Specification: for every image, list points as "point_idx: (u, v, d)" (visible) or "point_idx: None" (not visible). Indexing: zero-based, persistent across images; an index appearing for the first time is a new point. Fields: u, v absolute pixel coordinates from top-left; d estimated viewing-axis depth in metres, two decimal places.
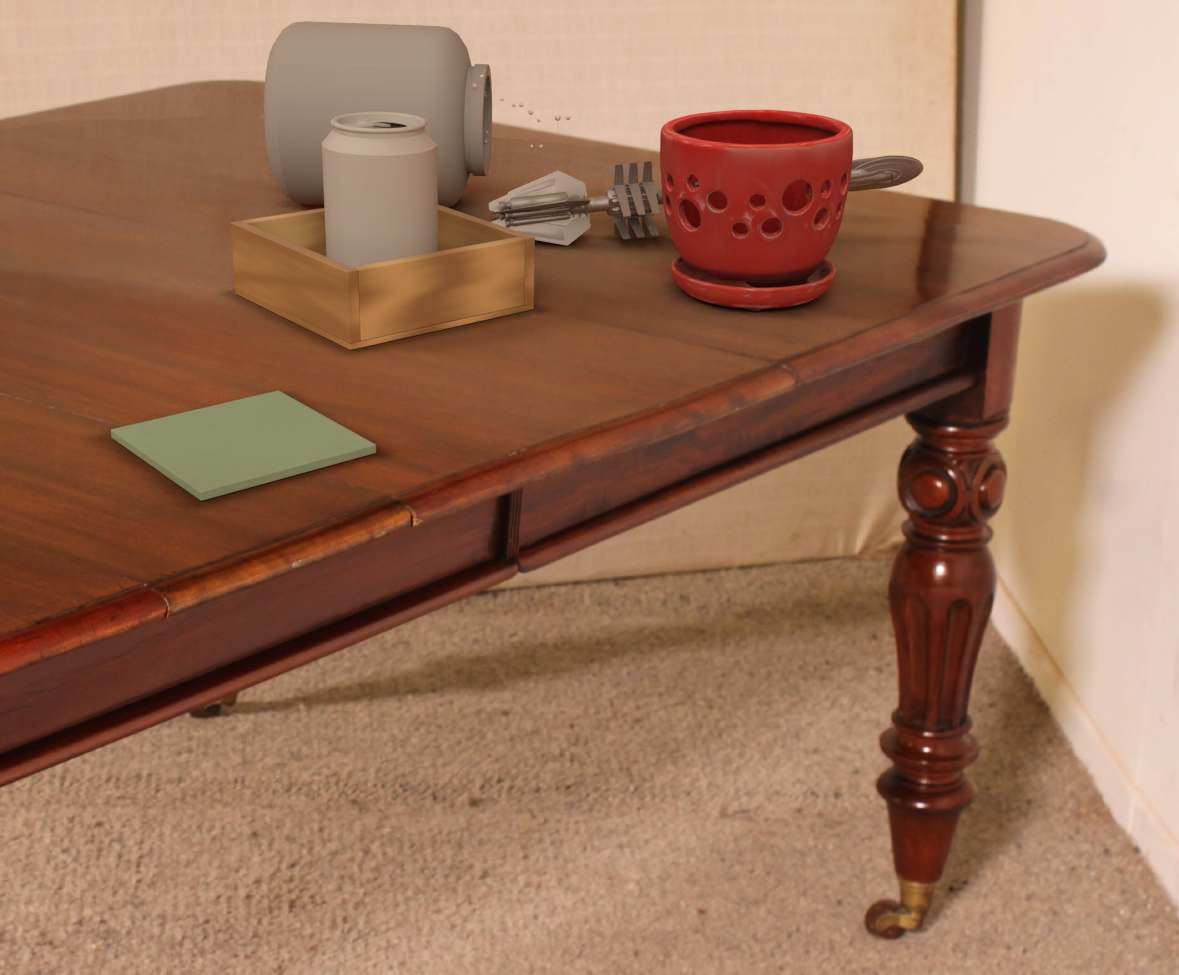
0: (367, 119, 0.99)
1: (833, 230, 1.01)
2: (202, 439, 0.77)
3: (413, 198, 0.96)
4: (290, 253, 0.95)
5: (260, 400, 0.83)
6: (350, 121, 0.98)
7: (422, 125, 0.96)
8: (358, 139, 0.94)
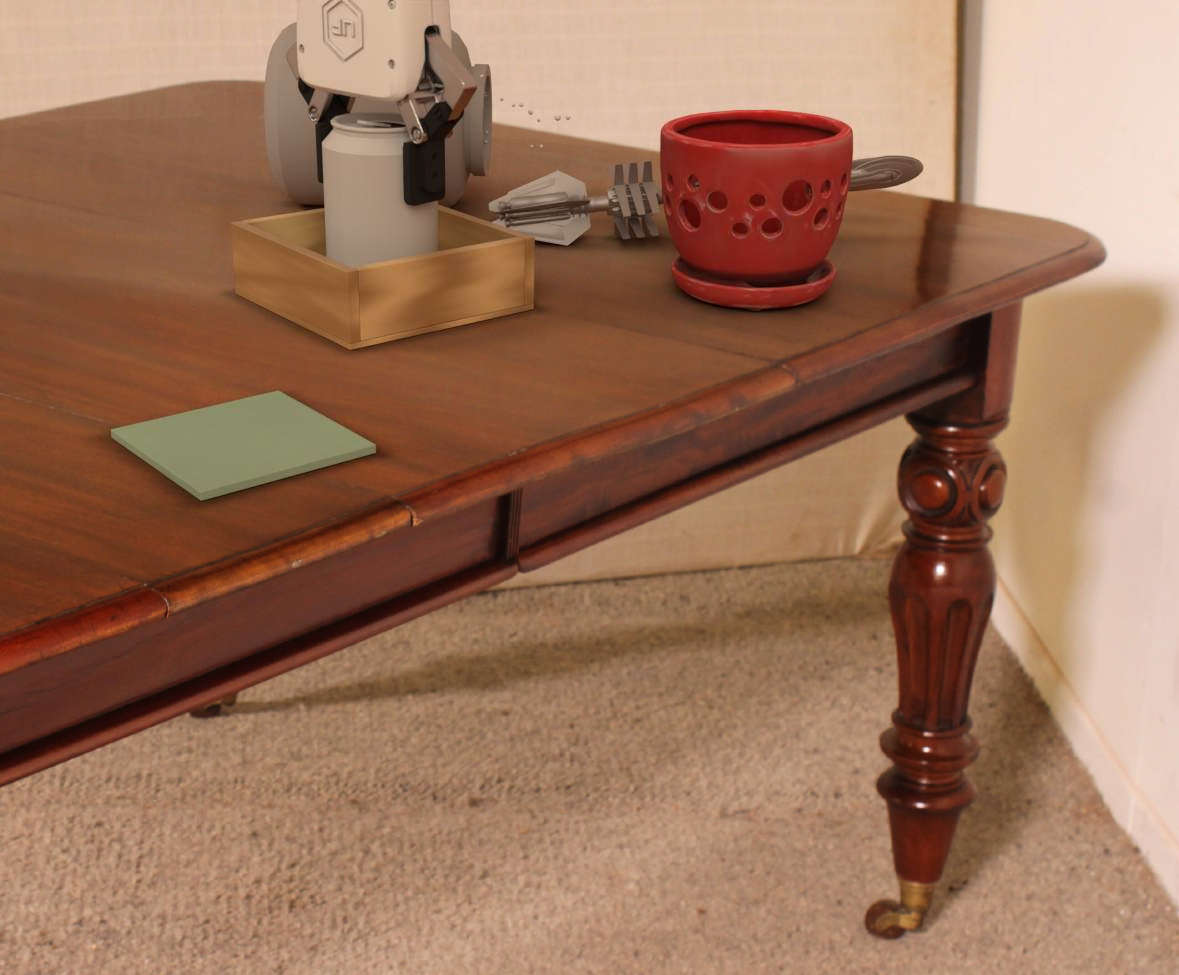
0: (367, 119, 0.99)
1: (833, 230, 1.01)
2: (202, 439, 0.77)
3: None
4: (290, 253, 0.95)
5: (260, 400, 0.83)
6: (350, 121, 0.98)
7: None
8: (358, 139, 0.94)
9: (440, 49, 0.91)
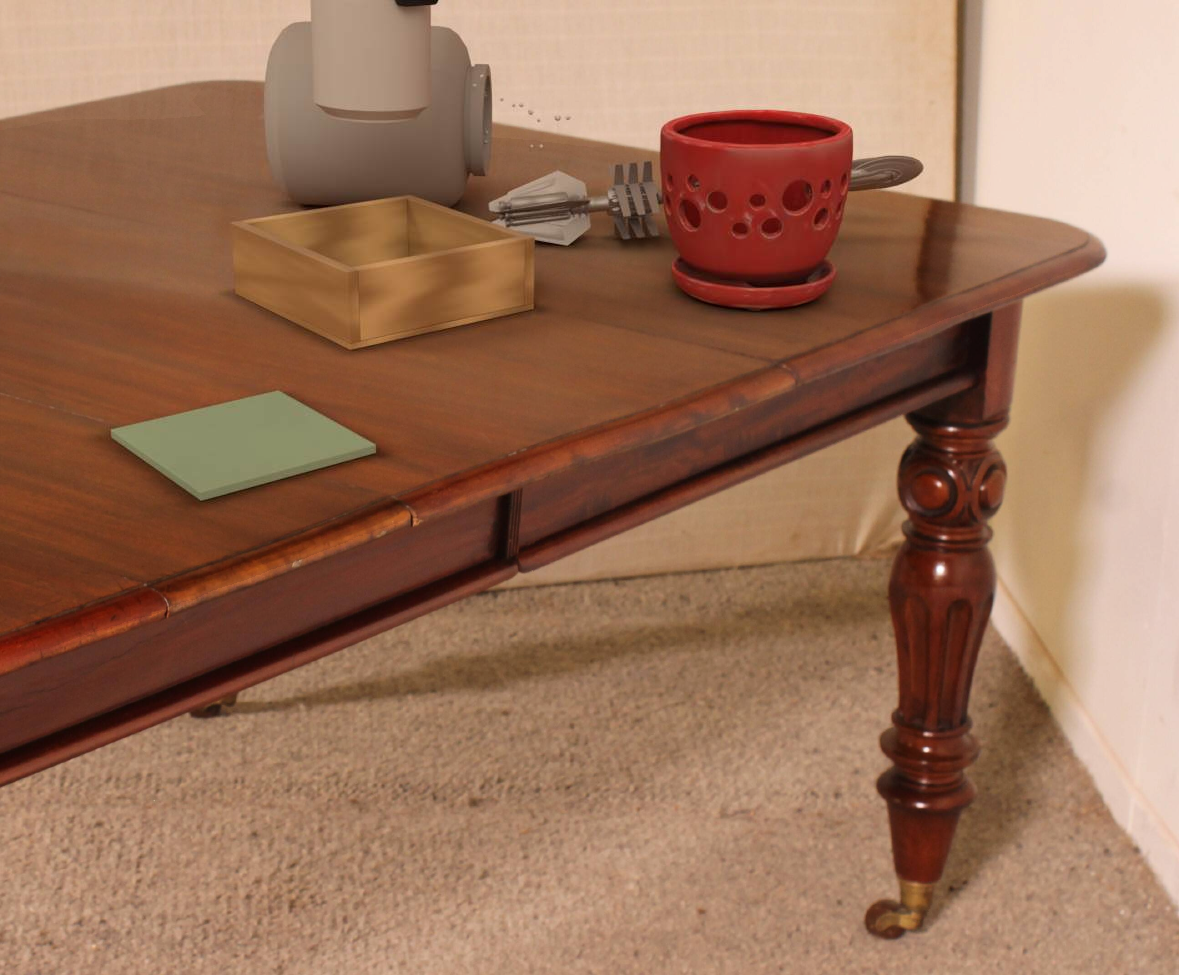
0: None
1: (833, 230, 1.01)
2: (202, 439, 0.77)
3: None
4: (290, 253, 0.95)
5: (260, 400, 0.83)
6: None
7: None
8: None
9: None
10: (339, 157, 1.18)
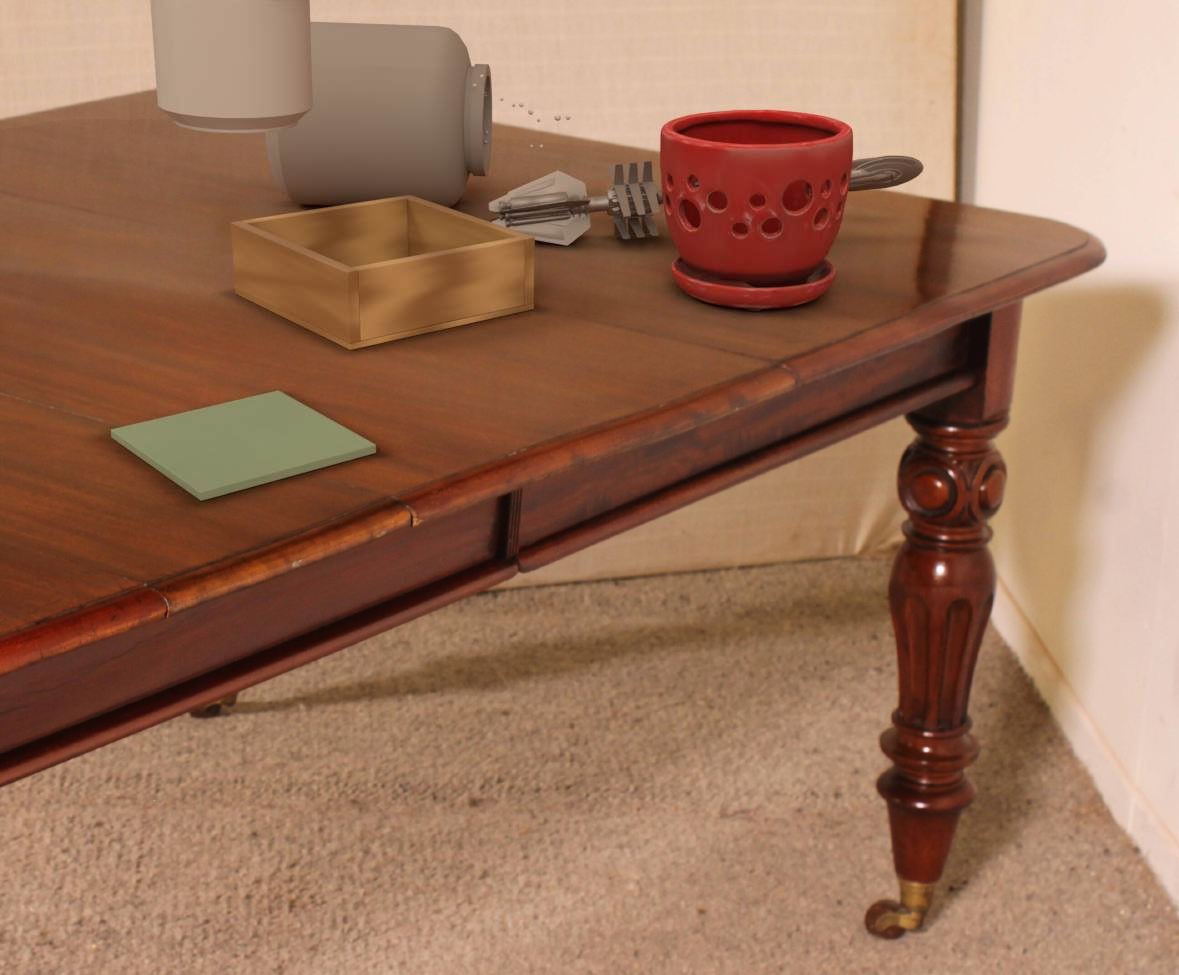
0: None
1: (833, 230, 1.01)
2: (202, 439, 0.77)
3: None
4: (290, 253, 0.95)
5: (260, 400, 0.83)
6: None
7: None
8: None
9: None
10: (339, 157, 1.18)
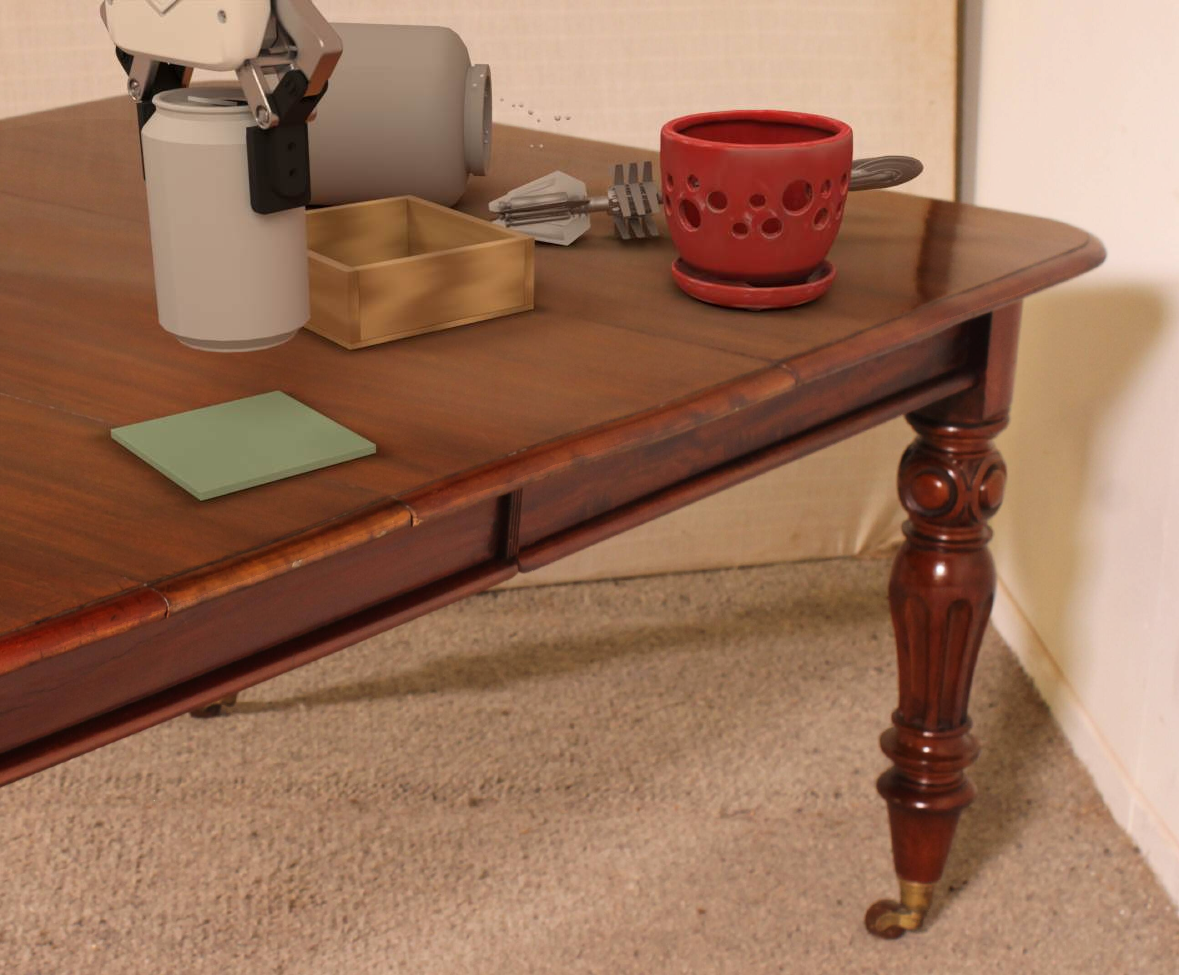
0: (209, 96, 0.73)
1: (833, 230, 1.01)
2: (202, 439, 0.77)
3: None
4: None
5: (260, 400, 0.83)
6: (184, 98, 0.72)
7: None
8: (186, 121, 0.68)
9: None
10: (339, 157, 1.18)
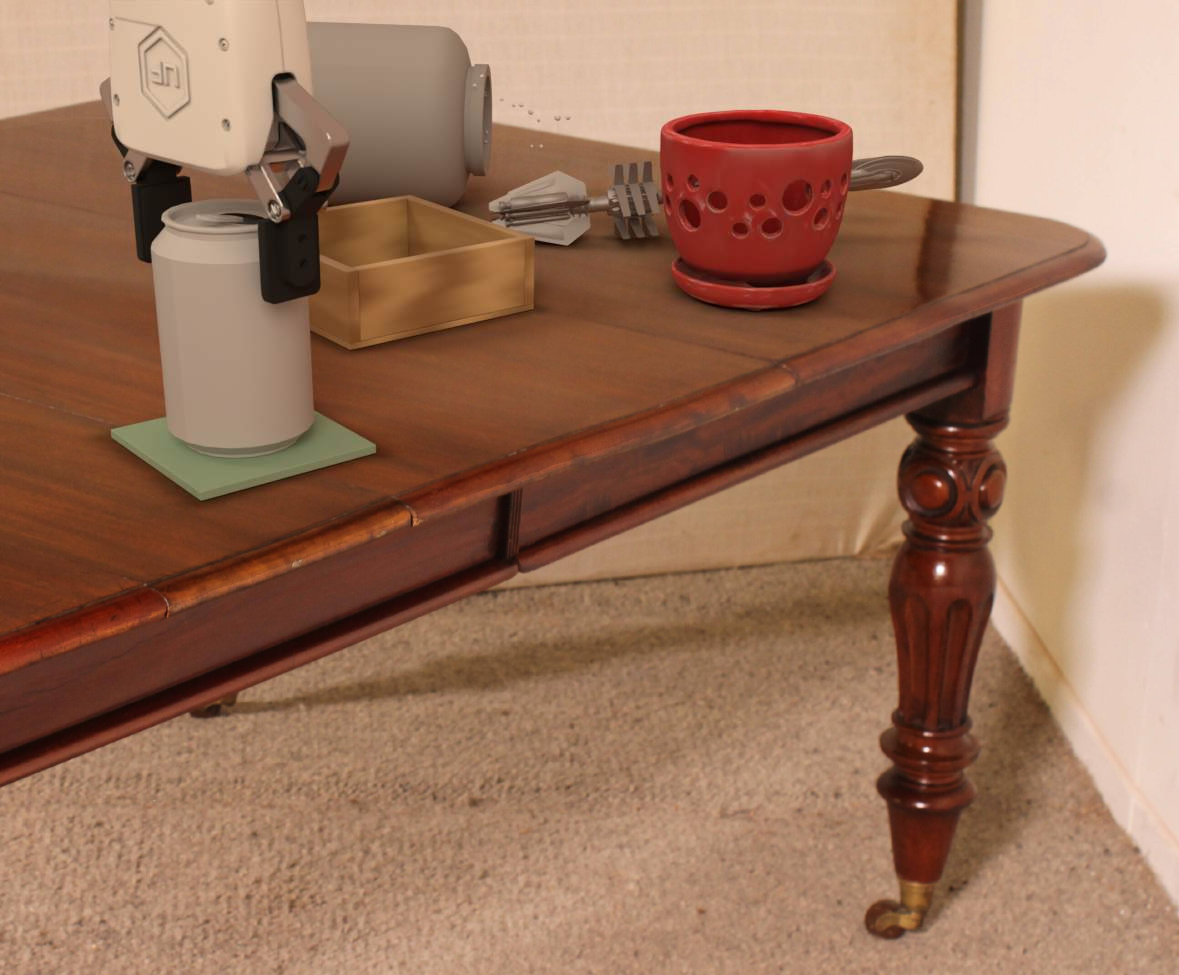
0: (216, 209, 0.75)
1: (833, 230, 1.01)
2: None
3: (271, 318, 0.72)
4: None
5: None
6: (192, 212, 0.75)
7: None
8: (194, 241, 0.71)
9: (295, 96, 0.67)
10: None
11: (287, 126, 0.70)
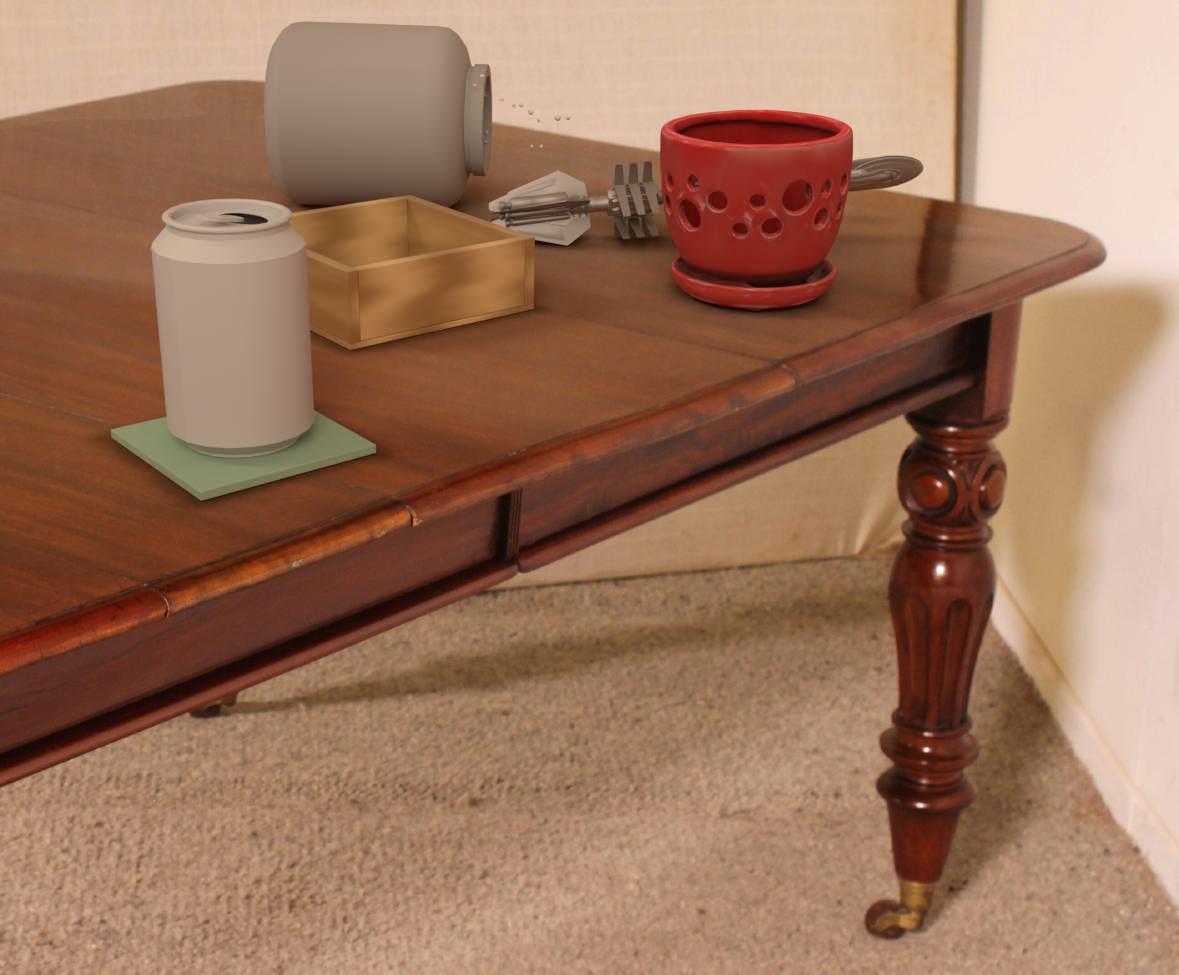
0: (217, 209, 0.75)
1: (833, 230, 1.01)
2: None
3: (272, 318, 0.72)
4: None
5: None
6: (193, 212, 0.75)
7: (283, 221, 0.72)
8: (194, 241, 0.71)
9: None
10: (339, 157, 1.18)
11: None
